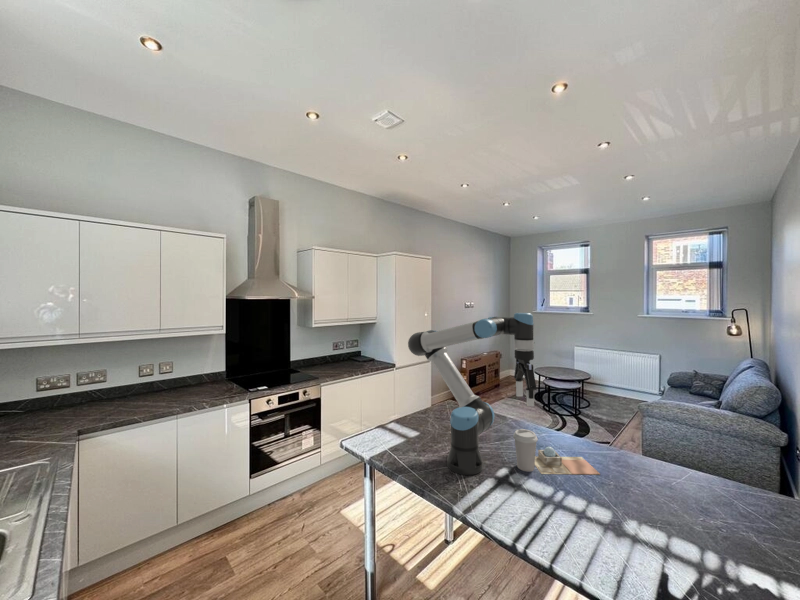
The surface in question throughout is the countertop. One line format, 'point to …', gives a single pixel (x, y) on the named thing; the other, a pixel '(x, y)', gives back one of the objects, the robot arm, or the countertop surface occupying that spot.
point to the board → (563, 465)
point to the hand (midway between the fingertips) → (524, 401)
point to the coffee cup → (525, 449)
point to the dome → (549, 452)
